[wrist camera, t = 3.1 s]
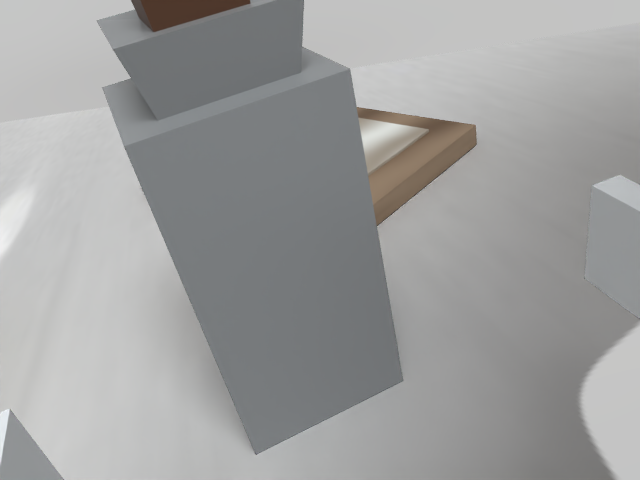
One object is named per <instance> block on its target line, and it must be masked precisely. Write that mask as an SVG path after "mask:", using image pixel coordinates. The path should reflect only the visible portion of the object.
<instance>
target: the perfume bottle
mask: <svg viewBox="0 0 640 480" xmlns="http://www.w3.org/2000/svg"><path fill="white" fill-rule="evenodd" d="M131 1H132V3H133V5H134V8H135V10H132V11H129V12H125V13H122V14H118V15H115V16H111V17H108V18H104V19H101V20H97V22H98V24H99V26H100V28H101V30H102V31H103V33H104V35H105V37H106V38H107V40H108V42H109V43H110V45H111V47H112V49H113V50H114V52H115V53H116V55H117V57H118V58H119V60H120V61H121V63H122V65H123V66H124V68H125V69H126V71H127V72H128V74H129V75H130V77H131V79H128V80H125V81H121V82H118V83H115V84H112V85H109V86H106V87H103V91H104V94H105V96H106V99H107V102H108V104H109V107H110V110H111V112H112V115H113V118H114V120H115V123H116V126H117V129H118V131H119V134H120V137H121V139H122V142H123V145H124V147H125V150H126V152H127V154H128V157H129V159H130V161H131V164H132V166H133V168H134V171H135V173H136V175H137V178H138V180H139V182H140V185H141V187H142V189H143V192H144V194H145V196H146V199H147V201H148V203H149V206H150V208H151V210H152V213H153V215H154V217H155V220H156V222H157V224H158V227H159V229H160V231H161V234H162V236H163V238H164V241H165V243H166V245H167V248H168V250H169V253H170V255H171V257H172V260H173V262H174V264H175V267H176V269H177V271H178V274H179V276H180V278H181V281H182V283H183V285H184V288H185V290H186V292H187V295H188V297H189V299H190V302H191V304H192V306H193V309H194V311H195V313H196V316H197V318H198V320H199V323H200V325H201V327H202V330H203V332H204V334H205V337H206V339H207V341H208V344H209V346H210V348H211V351H212V353H213V355H214V358H215V360H216V362H217V365H218V367H219V369H220V372H221V374H222V376H223V379H224V381H225V384H226V386H227V388H228V391H229V393H230V395H231V398H232V400H233V402H234V405H235V407H236V409H237V412H238V414H239V416H240V419H241V421H242V423H243V426H244V428H245V430H246V433H247V435H248V437H249V440H250V442H251V444H252V447H253V449H254V451H255V454H258V453H260V452H262V451H264V450H266V449H268V448H270V447H272V446H274V445H276V444H278V443H280V442H282V441H284V440H286V439H288V438H290V437H292V436H294V435H296V434H298V433H300V432H302V431H304V430H306V429H308V428H310V427H312V426H314V425H316V424H318V423H320V422H322V421H324V420H326V419H328V418H330V417H332V416H334V415H336V414H338V413H340V412H342V411H344V410H346V409H348V408H350V407H352V406H354V405H356V404H358V403H360V402H362V401H364V400H366V399H368V398H370V397H372V396H374V395H376V394H378V393H380V392H382V391H384V390H386V389H388V388H390V387H392V386H394V385H396V384H398V383H400V382H402V381H403V378H402V372H401V366H400V360H399V354H398V348H397V342H396V336H395V331H394V325H393V319H392V313H391V307H390V301H389V295H388V289H387V283H386V278H385V272H384V266H383V260H382V254H381V248H380V242H379V236H378V231H377V225H376V219H375V213H374V207H373V201H372V195H371V189H370V183H369V178H368V172H367V166H366V160H365V154H364V148H363V142H362V136H361V131H360V125H359V119H358V113H357V107H356V101H355V95H354V89H353V83H352V78H351V72H350V69H349V68H347V67H345V66H343V65H341V64H338V63H336V62H334V61H332V60H330V59H328V58H326V57H323V56H321V55H319V54H317V53H315V52H313V51H310V50H308V49H306V48H304V47H302V36H303V11H304V0H131Z"/></svg>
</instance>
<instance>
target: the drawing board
mask: <svg viewBox="0 0 640 480" xmlns="http://www.w3.org/2000/svg"><path fill="white" fill-rule="evenodd" d="M357 113H358V119H359V125H360V131H361V136H362V142H363V148H364V154H365V160H366V166H367V172H368V178H369V183H370V189H371V195H372V201H373V207H374V213H375V219H376V225H379V224H380V223H381V222H382V221H383V220H385V219H386V218H387V217H388V216H390V215H391V214H392V213H393V212H395V211H396V210H397V209H398V208H399V207H401V206H402V205H403V204H404V203H406V202H407V201H408V200H409V199H410V198H412V197H413V196H414V195H415V194H417V193H418V192H419V191H420V190H422V189H423V188H424V187H425V186H426V185H428V184H429V183H430V182H431V181H433V180H434V179H435V178H436V177H438V176H439V175H440V174H441V173H442V172H444V171H445V170H446V169H447V168H449V167H450V166H451V165H452V164H453V163H455V162H456V161H457V160H458V159H460V158H461V157H462V156H463V155H465V154H466V153H467V152H468V151H469V150H471V149H472V148H473V147H474V146H476V145H477V141H476V125H472V124H465V123H459V122H452V121H445V120H439V119H432V118H425V117H419V116H412V115H405V114H399V113H392V112H386V111H379V110H372V109H366V108H359V107H357Z"/></svg>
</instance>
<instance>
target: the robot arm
mask: <svg viewBox="0 0 640 480" xmlns="http://www.w3.org/2000/svg"><path fill="white" fill-rule="evenodd" d="M584 278H585V279H586V280H587V281H589V282H590V283H591V284H593V285H594V286H595V287H597V288H598V289H599V290H601V291H602V292H604V293H605V294H606V295H608V296H609V297H610V298H612V299H613V300H614V301H616V302H617V303H618V304H620V305H621V306H622V307H624V308H625V309H626V310H628V311H629V312H631V313H632V314H633V315H635V316H636V317H637V318H639V319H640V185H639V184H637V183H635V182H633V181H631V180H629V179H627V178H625V177H623V176H621V175H617V176H615V177H612V178H610V179H607V180H604V181H602V182H599V183H597V184H594V185H592V189H591V202H590V214H589V227H588V239H587V252H586V264H585V276H584ZM0 480H64V479H63V478H62V477H61V475H60V474H59V473H58V471H57V470H56V469H55V467H54V466H53V465H52V463H51V462H50V461H49V460H48V458H47V457H46V456H45V454H44V453H43V452H42V450H41V449H40V448H39V446H38V445H37V444H36V442H35V441H34V440H33V439H32V437H31V436H30V435H29V433H28V432H27V431H26V429H25V428H24V427H23V425H22V424H21V423H20V421H19V420H18V419H17V418H16V416H15V415H14V414H13V412H12V411H11V410H10V409H8V410H5V411H3V412H0Z"/></svg>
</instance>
